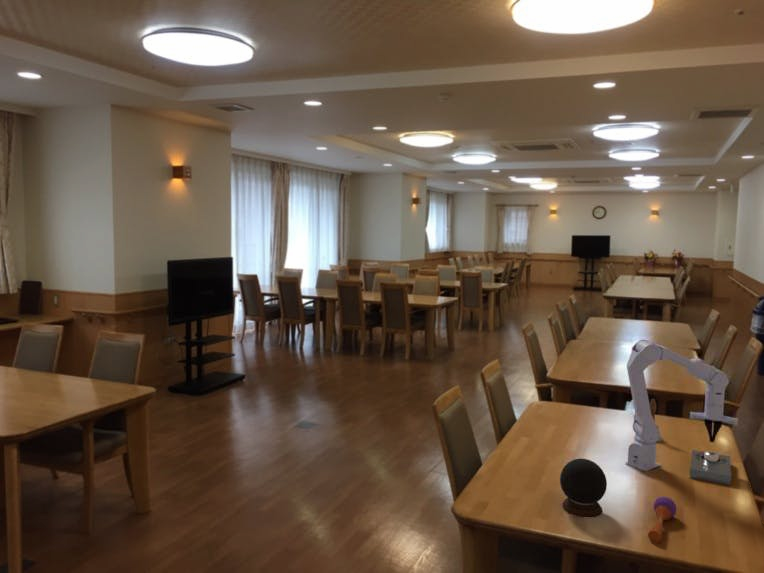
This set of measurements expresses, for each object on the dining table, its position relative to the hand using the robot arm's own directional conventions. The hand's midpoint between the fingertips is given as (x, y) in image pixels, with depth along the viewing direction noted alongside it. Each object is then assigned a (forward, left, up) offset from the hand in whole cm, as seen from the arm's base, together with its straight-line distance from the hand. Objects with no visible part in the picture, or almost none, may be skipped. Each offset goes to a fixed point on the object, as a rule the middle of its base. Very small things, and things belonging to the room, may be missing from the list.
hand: (711, 441), depth 209 cm
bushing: (0, 0, -9) cm, 9 cm away
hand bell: (+10, +28, -10) cm, 32 cm away
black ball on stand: (-65, +5, -10) cm, 65 cm away
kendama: (-55, -14, -10) cm, 58 cm away
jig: (-4, -2, -9) cm, 10 cm away
